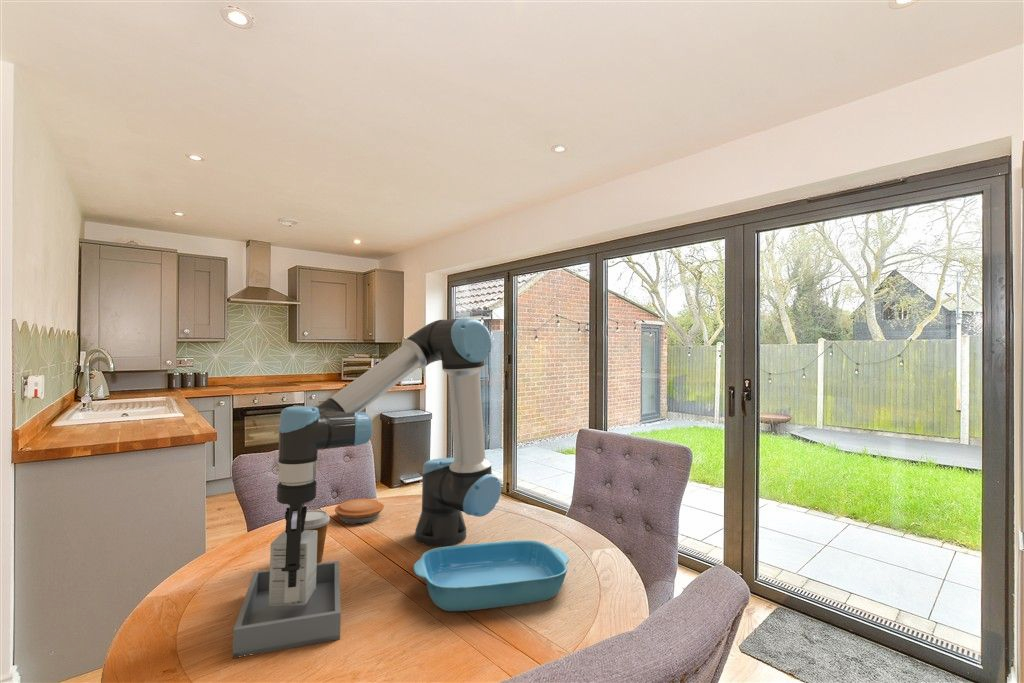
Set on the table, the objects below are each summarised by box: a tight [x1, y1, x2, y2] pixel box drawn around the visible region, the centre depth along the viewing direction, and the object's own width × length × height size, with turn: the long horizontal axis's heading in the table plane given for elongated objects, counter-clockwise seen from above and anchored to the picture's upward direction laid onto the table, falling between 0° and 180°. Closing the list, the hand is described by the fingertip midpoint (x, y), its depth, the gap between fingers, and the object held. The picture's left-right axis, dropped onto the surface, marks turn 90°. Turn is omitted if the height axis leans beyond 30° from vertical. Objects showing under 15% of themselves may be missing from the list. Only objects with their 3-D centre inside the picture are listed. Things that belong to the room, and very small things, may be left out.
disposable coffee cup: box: [304, 509, 331, 563], centre depth 125 cm, size 10×10×12 cm
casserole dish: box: [413, 539, 570, 612], centre depth 112 cm, size 37×22×7 cm, turn 107°
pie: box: [334, 498, 385, 524], centre depth 158 cm, size 15×16×5 cm
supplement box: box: [269, 530, 318, 606], centre depth 100 cm, size 7×7×13 cm
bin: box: [232, 560, 342, 659], centre depth 100 cm, size 18×24×5 cm
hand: (293, 590), depth 100 cm, fingers closed on supplement box, 8 cm apart
